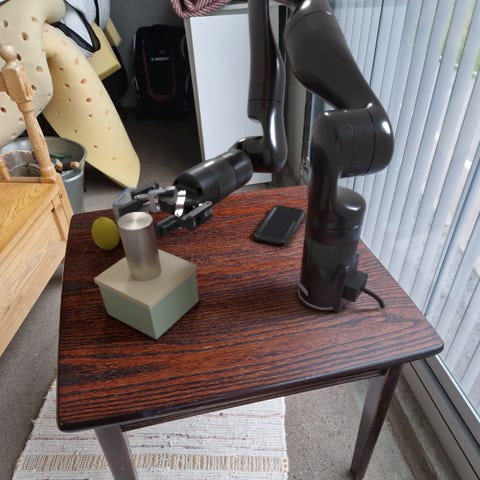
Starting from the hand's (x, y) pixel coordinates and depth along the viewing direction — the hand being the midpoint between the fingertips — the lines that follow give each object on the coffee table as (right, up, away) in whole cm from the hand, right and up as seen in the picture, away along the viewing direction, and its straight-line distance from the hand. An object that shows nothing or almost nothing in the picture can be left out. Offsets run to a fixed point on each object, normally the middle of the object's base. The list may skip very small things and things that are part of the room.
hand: (138, 223), depth 66 cm
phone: (+25, +6, +32) cm, 41 cm away
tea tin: (0, -7, +6) cm, 9 cm away
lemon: (-13, 0, +26) cm, 29 cm away
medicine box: (-8, +6, +32) cm, 34 cm away
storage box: (0, -13, +12) cm, 18 cm away
